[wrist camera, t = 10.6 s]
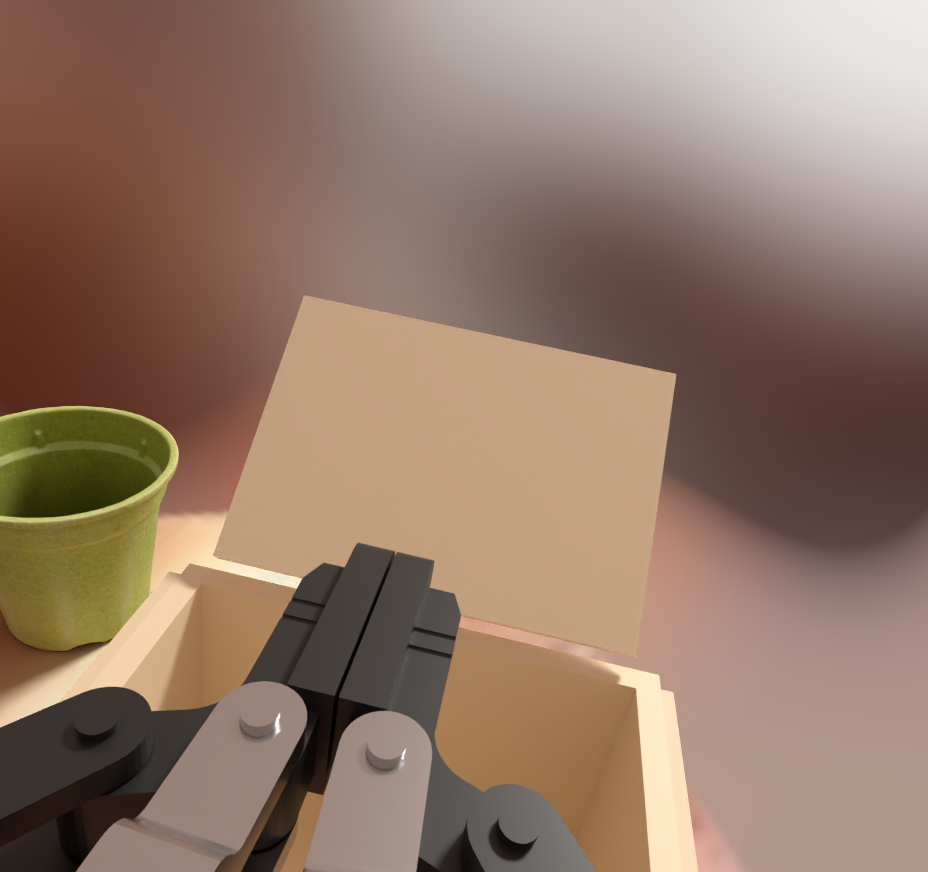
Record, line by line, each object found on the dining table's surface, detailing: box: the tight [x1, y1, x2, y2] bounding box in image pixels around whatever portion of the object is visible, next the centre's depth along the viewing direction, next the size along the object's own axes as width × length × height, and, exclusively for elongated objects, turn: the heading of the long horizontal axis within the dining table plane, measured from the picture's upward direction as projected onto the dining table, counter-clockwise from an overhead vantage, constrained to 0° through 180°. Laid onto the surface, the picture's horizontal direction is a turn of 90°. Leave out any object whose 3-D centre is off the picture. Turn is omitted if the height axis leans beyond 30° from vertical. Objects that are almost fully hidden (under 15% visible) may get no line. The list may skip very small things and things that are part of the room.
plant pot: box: [0, 406, 178, 651], centre depth 32 cm, size 9×9×9 cm
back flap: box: [213, 296, 676, 657], centre depth 25 cm, size 14×1×10 cm
